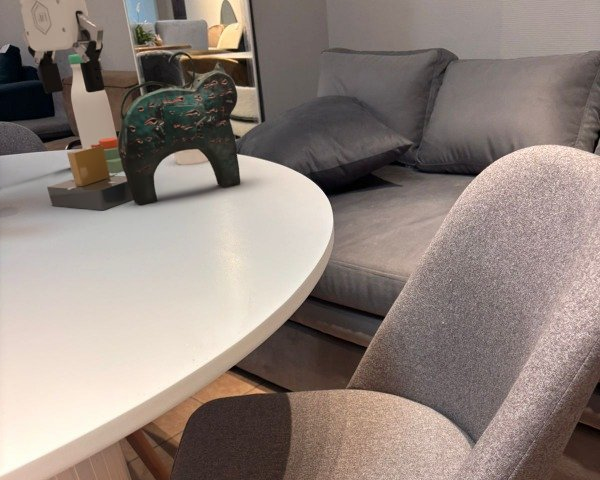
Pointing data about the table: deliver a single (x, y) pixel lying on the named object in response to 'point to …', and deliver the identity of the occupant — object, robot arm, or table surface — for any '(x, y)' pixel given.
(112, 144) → the dispenser button
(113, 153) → the dispenser
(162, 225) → the table surface
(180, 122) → the ceramic cat
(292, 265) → the table surface
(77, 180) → the yellow rectangular block
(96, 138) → the milk bottle
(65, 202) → the base
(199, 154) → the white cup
